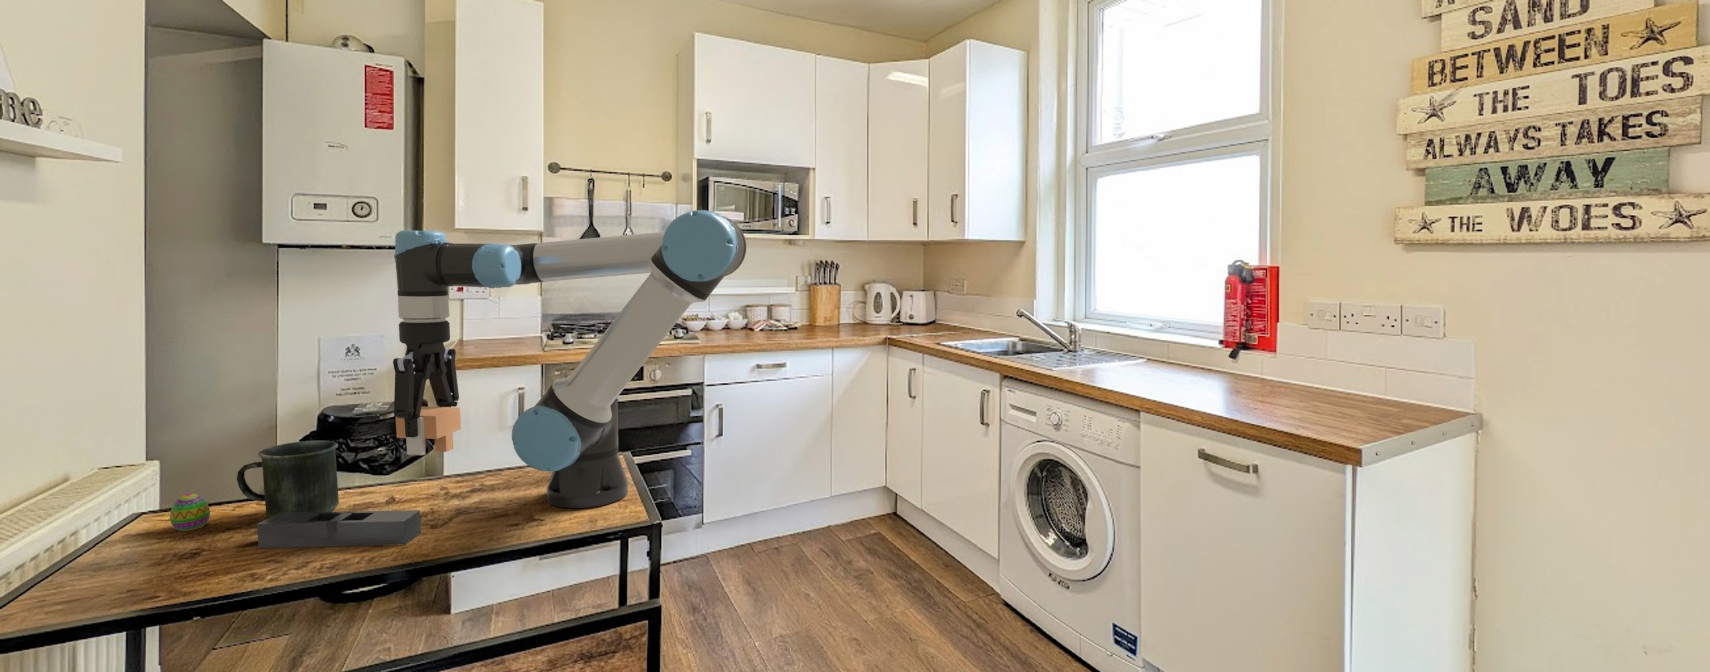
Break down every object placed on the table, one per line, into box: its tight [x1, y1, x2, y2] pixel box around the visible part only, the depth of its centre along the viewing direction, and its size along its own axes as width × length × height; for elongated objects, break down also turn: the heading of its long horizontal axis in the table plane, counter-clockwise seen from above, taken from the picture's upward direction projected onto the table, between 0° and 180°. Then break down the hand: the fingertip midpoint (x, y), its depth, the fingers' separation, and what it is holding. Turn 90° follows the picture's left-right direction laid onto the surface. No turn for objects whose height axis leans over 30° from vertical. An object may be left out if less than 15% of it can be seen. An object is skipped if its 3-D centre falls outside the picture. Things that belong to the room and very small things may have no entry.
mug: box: [236, 439, 340, 519], centre depth 124 cm, size 11×15×12 cm
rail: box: [256, 509, 422, 549], centre depth 113 cm, size 22×5×4 cm, turn 97°
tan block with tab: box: [395, 405, 462, 453], centre depth 122 cm, size 7×7×7 cm
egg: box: [169, 493, 211, 532], centre depth 117 cm, size 5×5×6 cm
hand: (430, 448), depth 122 cm, fingers closed on tan block with tab, 7 cm apart
